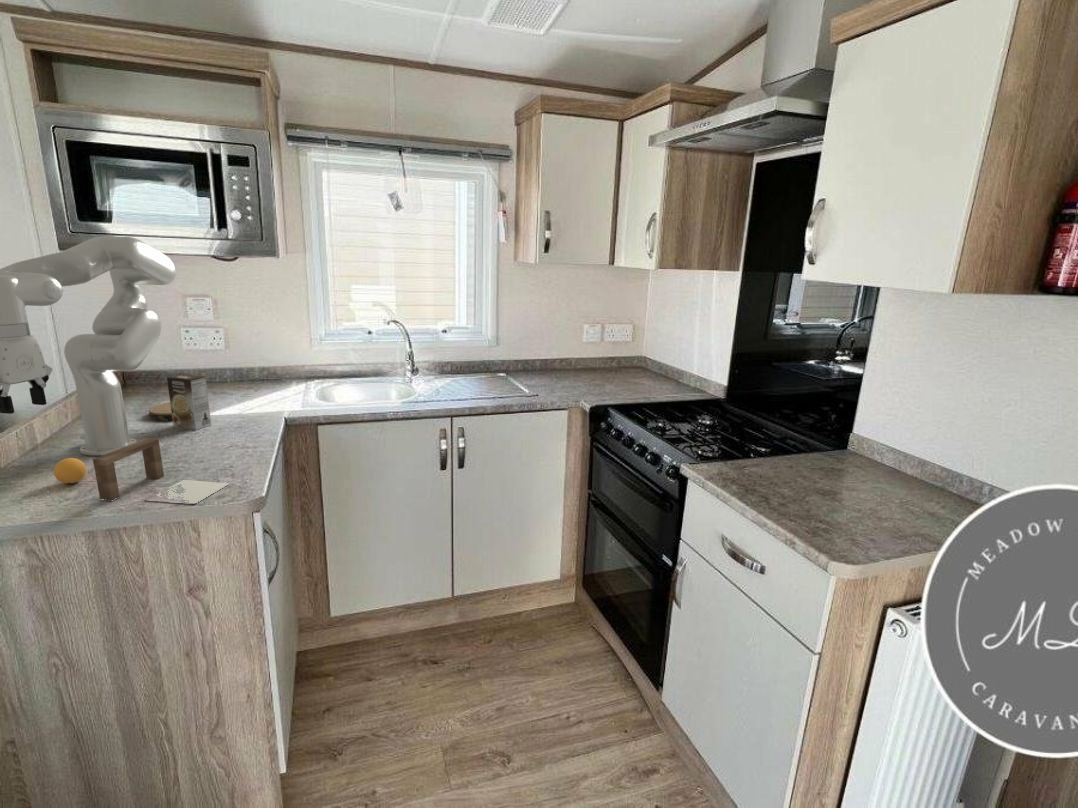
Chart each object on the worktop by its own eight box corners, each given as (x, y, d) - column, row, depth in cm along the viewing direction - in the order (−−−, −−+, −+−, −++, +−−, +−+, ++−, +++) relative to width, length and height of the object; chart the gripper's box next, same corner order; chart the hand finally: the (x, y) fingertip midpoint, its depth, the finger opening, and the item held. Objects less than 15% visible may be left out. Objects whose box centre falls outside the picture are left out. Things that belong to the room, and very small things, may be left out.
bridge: (100, 500, 127) (92, 459, 124) (153, 475, 141) (147, 437, 138) (112, 501, 126) (105, 460, 124) (164, 476, 141) (158, 438, 138)
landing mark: (144, 501, 127) (144, 500, 127) (183, 480, 138) (183, 479, 138) (194, 505, 125) (194, 504, 125) (229, 484, 137) (229, 483, 137)
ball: (49, 485, 134) (44, 461, 132) (76, 476, 139) (72, 453, 138) (68, 489, 132) (63, 464, 130) (94, 479, 137) (90, 456, 136)
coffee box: (172, 427, 178) (164, 376, 174) (189, 421, 184) (182, 372, 180) (196, 430, 175) (189, 379, 171) (212, 424, 181) (206, 375, 177)
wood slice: (177, 424, 182) (175, 415, 181) (137, 419, 186) (136, 410, 185) (216, 411, 197) (215, 403, 196) (179, 407, 201) (178, 399, 200)
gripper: (-20, 337, 119) (-1, 420, 123) (58, 327, 135) (72, 400, 140) (-51, 336, 120) (-32, 418, 124) (30, 326, 136) (45, 398, 141)
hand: (23, 408), depth 132 cm, fingers open, 6 cm apart
